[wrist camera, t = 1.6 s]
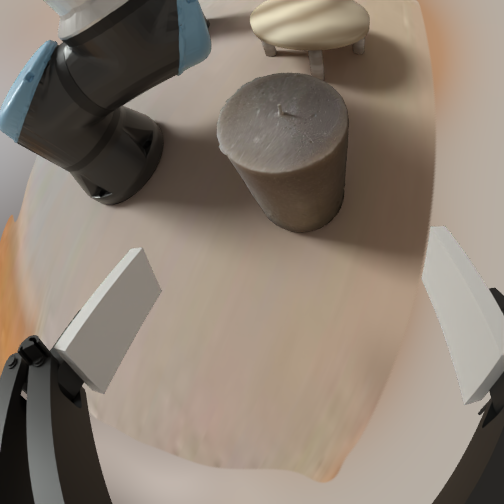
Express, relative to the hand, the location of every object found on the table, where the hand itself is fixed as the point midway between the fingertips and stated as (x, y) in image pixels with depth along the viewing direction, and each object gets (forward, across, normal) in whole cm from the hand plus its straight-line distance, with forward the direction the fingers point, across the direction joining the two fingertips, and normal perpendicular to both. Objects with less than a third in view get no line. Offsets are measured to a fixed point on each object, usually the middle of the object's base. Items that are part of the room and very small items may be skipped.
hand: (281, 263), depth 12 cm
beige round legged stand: (+38, +5, +14) cm, 40 cm away
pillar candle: (+20, 0, -5) cm, 21 cm away
